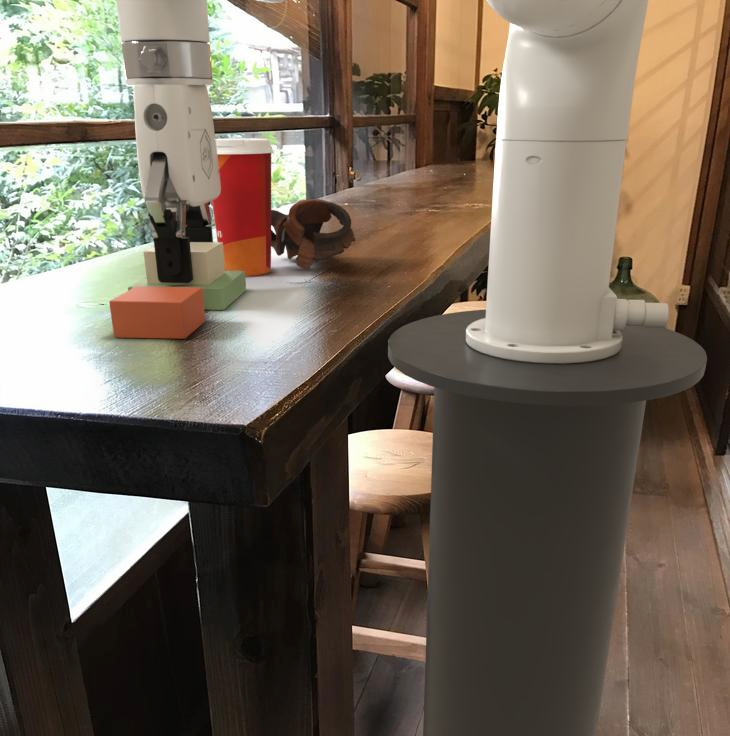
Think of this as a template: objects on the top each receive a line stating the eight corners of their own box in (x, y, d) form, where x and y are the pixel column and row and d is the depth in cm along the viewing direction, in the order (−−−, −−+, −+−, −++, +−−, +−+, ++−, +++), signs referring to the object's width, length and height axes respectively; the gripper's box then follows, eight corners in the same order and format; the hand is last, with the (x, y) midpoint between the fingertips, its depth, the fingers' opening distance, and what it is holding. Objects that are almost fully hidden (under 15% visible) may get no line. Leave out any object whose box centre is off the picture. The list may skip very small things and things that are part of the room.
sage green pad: (246, 290, 83) (245, 270, 82) (224, 310, 75) (222, 288, 74) (161, 289, 84) (159, 269, 83) (130, 308, 76) (127, 287, 75)
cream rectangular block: (225, 273, 81) (223, 242, 80) (209, 284, 75) (206, 251, 74) (167, 272, 81) (163, 241, 80) (147, 284, 76) (143, 251, 75)
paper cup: (240, 263, 97) (231, 137, 91) (293, 269, 94) (287, 138, 88) (197, 274, 91) (185, 139, 85) (252, 280, 88) (243, 140, 82)
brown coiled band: (353, 259, 102) (365, 204, 96) (337, 307, 97) (348, 251, 90) (262, 233, 102) (267, 176, 95) (240, 279, 96) (244, 221, 90)
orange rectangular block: (205, 321, 71) (202, 287, 70) (185, 339, 65) (181, 302, 64) (139, 320, 71) (135, 286, 70) (113, 337, 66) (108, 301, 65)
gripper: (180, 62, 63) (200, 293, 70) (234, 71, 78) (246, 260, 86) (86, 63, 63) (117, 292, 71) (159, 72, 79) (177, 259, 86)
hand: (187, 273), depth 78 cm, fingers open, 6 cm apart
